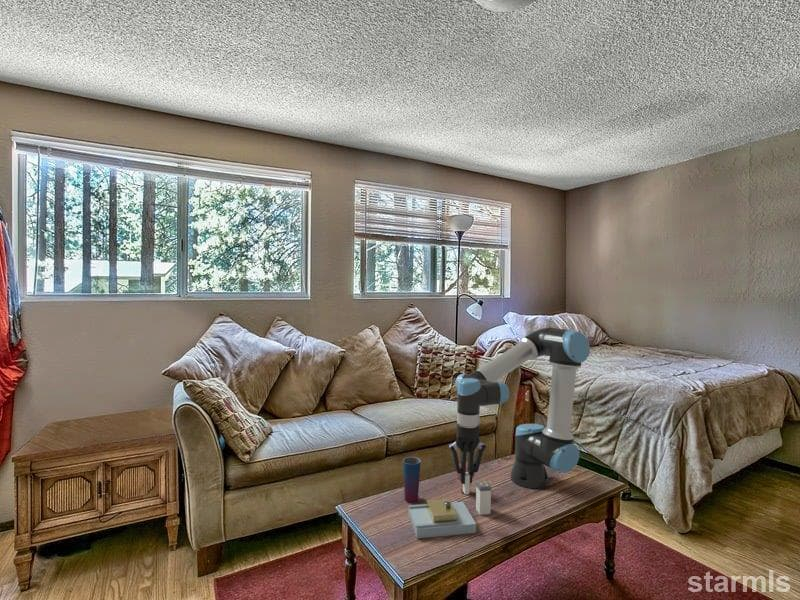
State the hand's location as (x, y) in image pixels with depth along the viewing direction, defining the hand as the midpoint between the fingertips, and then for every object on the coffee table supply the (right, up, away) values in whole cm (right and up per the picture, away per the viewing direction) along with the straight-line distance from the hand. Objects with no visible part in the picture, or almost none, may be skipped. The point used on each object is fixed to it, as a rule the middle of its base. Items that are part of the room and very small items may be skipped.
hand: (465, 492), depth 142 cm
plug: (+7, -10, +7) cm, 14 cm away
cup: (-18, -10, +15) cm, 25 cm away
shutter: (-9, -7, -1) cm, 11 cm away
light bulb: (+3, -10, +20) cm, 23 cm away
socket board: (-9, -10, -1) cm, 13 cm away
